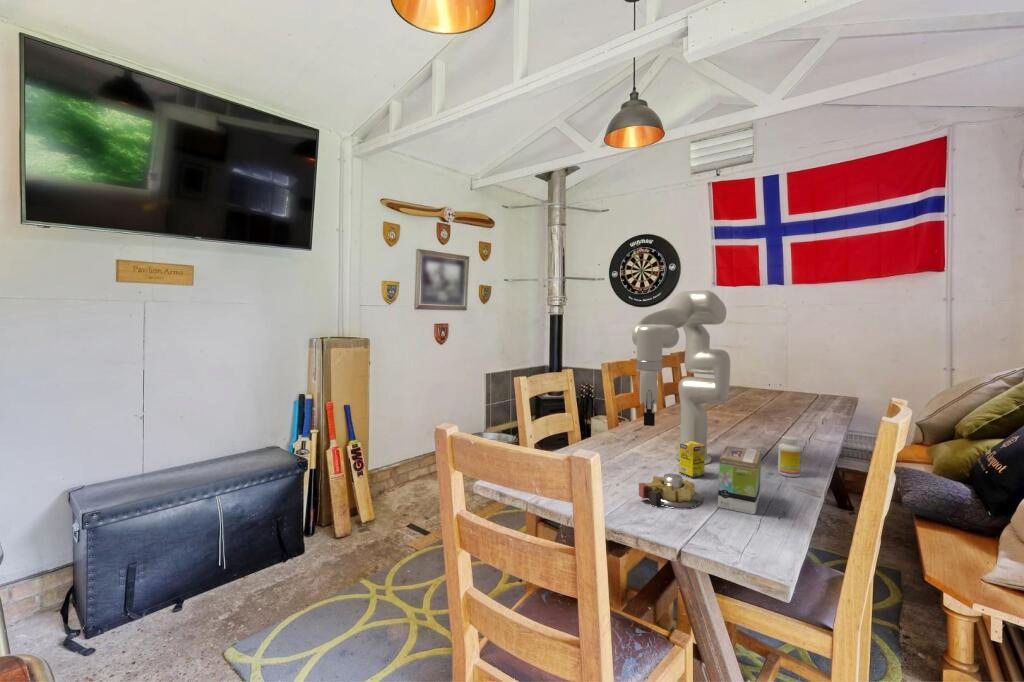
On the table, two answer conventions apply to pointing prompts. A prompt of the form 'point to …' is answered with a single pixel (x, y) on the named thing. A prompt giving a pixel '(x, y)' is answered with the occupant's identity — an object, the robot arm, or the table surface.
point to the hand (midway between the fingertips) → (649, 425)
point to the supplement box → (692, 459)
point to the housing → (656, 500)
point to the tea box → (739, 479)
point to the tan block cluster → (668, 490)
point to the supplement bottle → (789, 457)
